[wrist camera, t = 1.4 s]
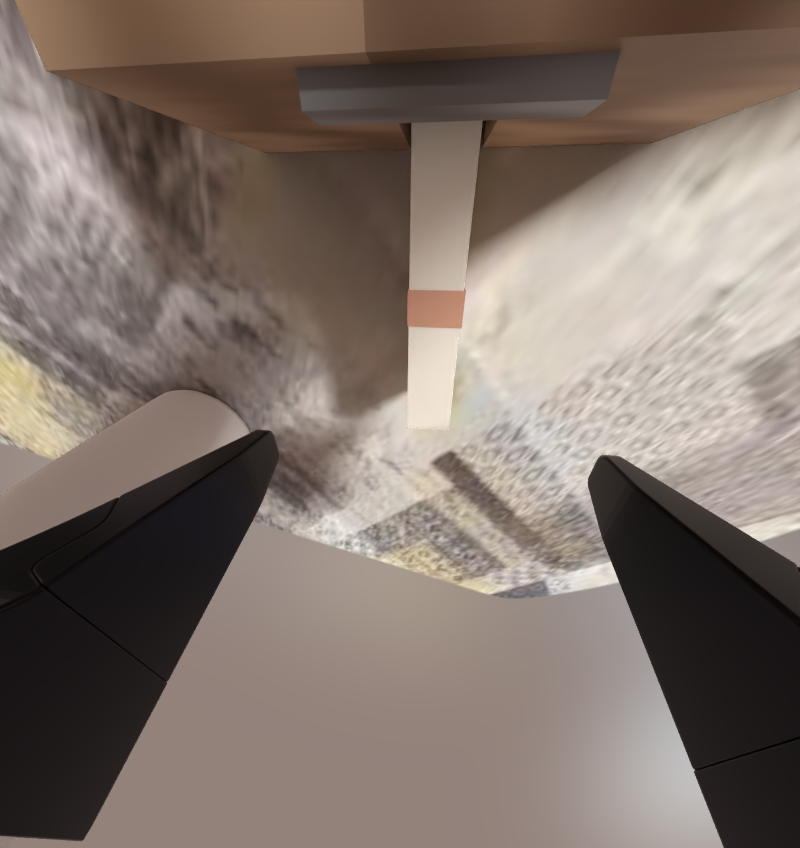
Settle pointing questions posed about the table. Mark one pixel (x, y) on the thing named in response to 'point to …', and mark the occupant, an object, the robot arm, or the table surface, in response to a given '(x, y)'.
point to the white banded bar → (438, 262)
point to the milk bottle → (118, 461)
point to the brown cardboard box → (426, 65)
